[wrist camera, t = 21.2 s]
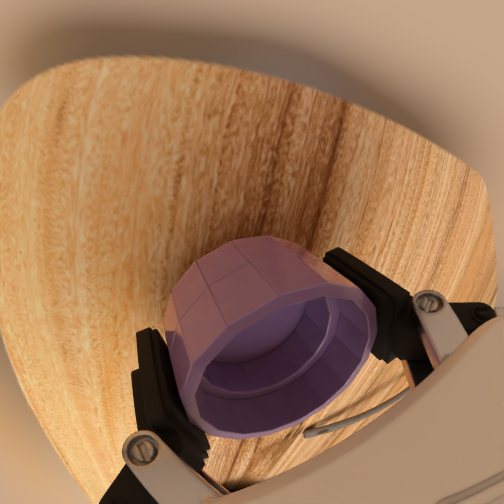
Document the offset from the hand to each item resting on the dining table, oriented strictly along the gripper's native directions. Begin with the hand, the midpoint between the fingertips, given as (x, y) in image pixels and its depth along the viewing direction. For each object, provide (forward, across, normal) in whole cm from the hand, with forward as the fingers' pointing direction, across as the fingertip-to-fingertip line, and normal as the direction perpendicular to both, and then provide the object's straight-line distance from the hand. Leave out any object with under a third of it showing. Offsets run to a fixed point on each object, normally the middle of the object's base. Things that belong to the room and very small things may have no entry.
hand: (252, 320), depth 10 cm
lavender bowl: (+1, 0, 0) cm, 1 cm away
